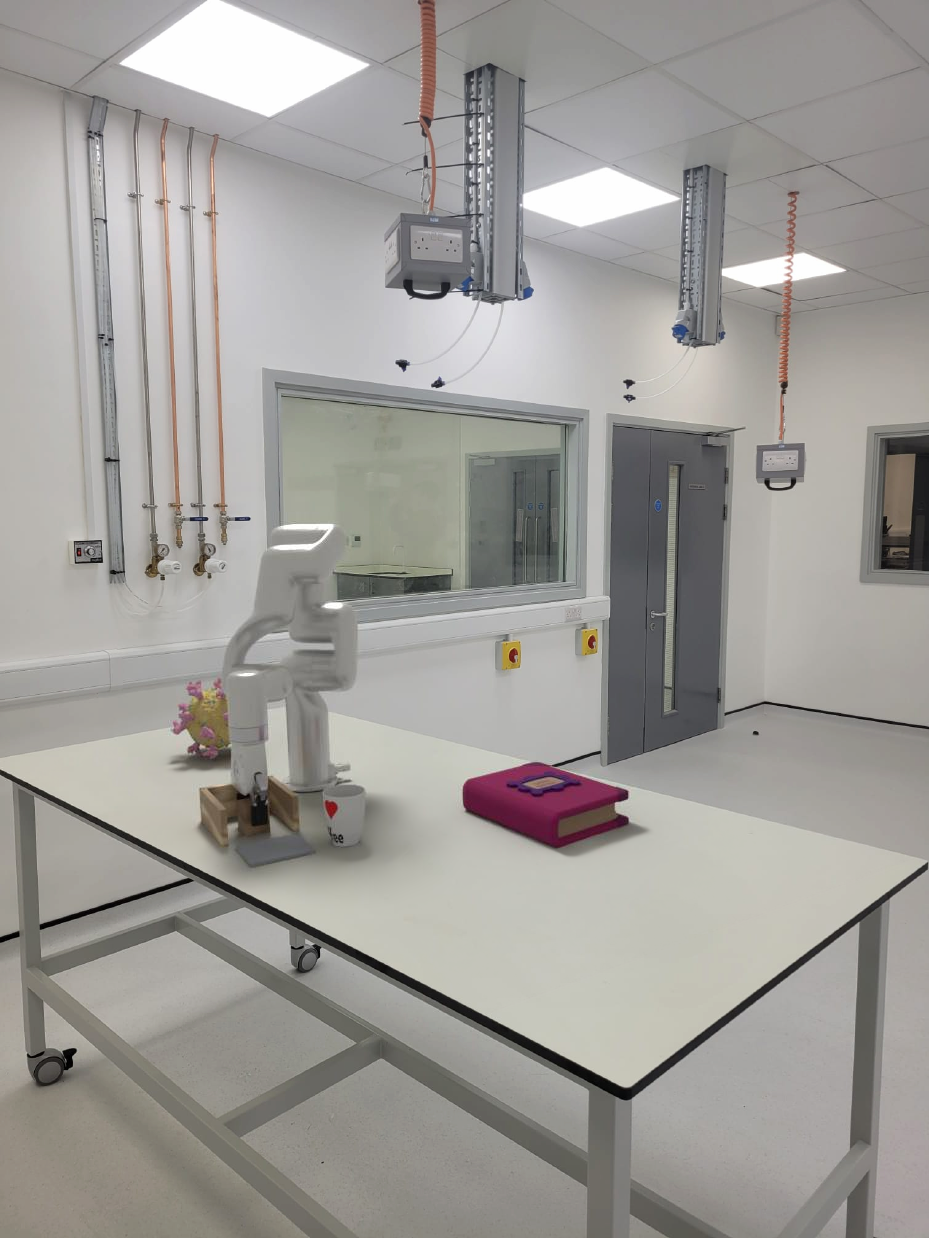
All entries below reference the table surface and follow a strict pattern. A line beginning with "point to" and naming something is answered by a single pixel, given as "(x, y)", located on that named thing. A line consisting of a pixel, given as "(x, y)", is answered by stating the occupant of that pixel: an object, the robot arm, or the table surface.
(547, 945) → the table surface
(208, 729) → the educational model
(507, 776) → the book
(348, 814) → the cup
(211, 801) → the oak u-shaped frame
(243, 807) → the block
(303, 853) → the mat
